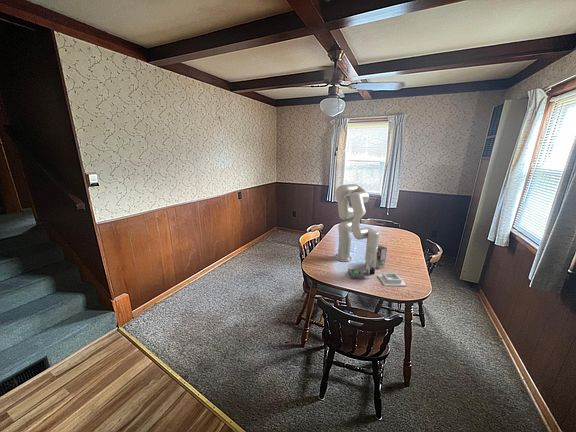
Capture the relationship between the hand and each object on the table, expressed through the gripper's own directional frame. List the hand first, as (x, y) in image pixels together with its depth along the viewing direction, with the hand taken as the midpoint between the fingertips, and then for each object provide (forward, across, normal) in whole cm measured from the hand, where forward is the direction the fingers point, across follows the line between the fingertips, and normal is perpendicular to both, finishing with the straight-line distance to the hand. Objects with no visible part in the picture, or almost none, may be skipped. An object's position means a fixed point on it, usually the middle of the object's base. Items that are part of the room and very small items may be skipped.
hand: (369, 270), depth 161 cm
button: (+2, +3, -10) cm, 11 cm away
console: (+3, +3, -10) cm, 11 cm away
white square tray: (+3, +9, +12) cm, 15 cm away
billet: (+3, 0, 0) cm, 3 cm away
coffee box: (+3, -12, +10) cm, 16 cm away
